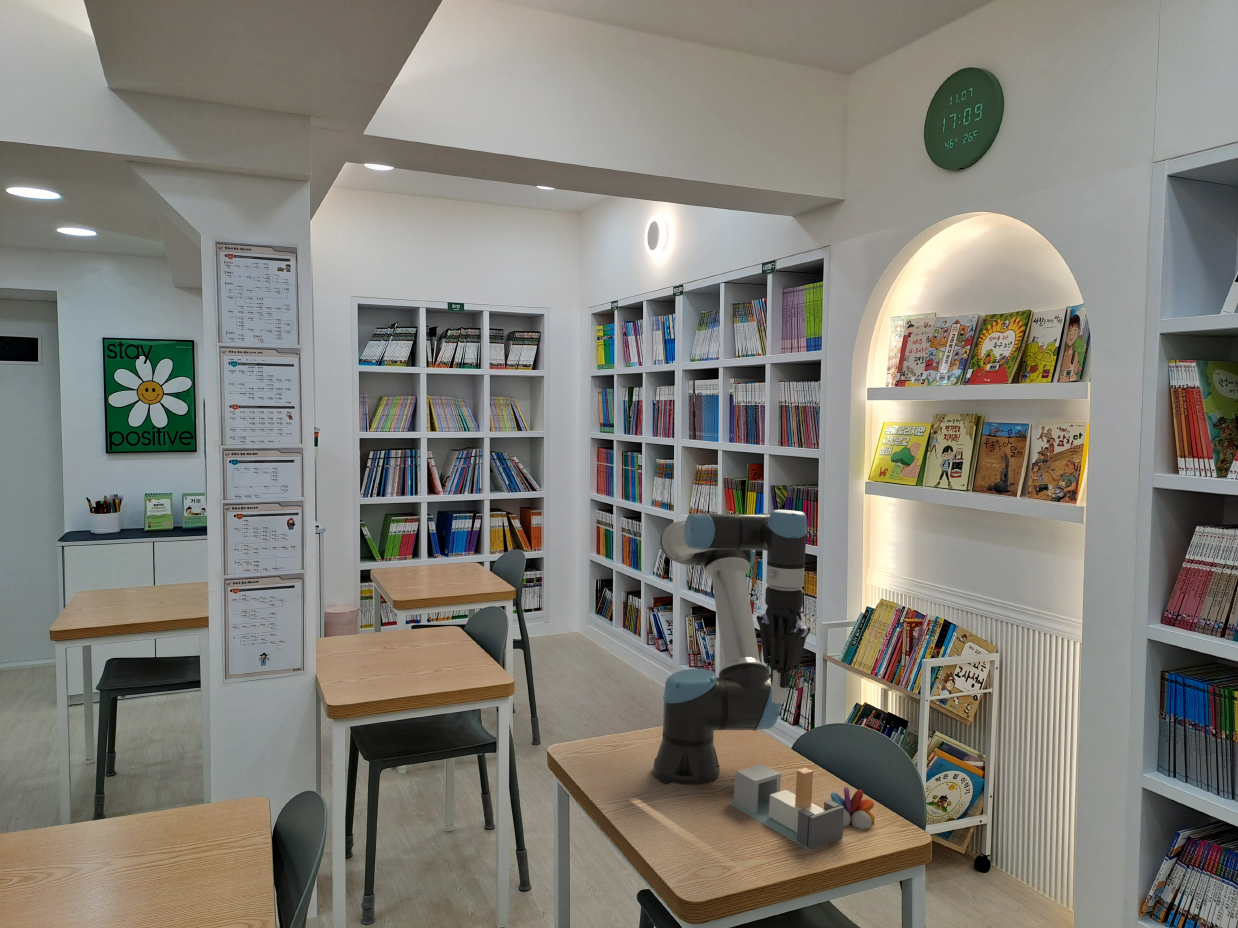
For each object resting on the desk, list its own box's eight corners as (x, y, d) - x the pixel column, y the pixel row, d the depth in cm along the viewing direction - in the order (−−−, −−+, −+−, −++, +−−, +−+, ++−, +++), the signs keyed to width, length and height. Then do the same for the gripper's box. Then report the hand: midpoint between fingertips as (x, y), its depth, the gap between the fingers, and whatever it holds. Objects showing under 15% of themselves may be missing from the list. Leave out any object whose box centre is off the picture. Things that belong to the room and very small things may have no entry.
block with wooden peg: (768, 816, 167) (771, 760, 167) (784, 811, 170) (787, 755, 170) (814, 842, 158) (817, 782, 157) (830, 836, 160) (833, 777, 160)
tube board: (728, 808, 173) (730, 771, 173) (763, 797, 179) (764, 761, 179) (808, 854, 155) (810, 814, 155) (843, 841, 161) (846, 801, 161)
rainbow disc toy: (876, 836, 164) (878, 800, 163) (825, 829, 166) (827, 794, 165) (872, 816, 172) (873, 782, 172) (824, 810, 174) (825, 776, 174)
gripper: (748, 582, 171) (743, 695, 172) (795, 594, 160) (789, 714, 161) (774, 579, 175) (769, 689, 176) (822, 591, 164) (816, 708, 165)
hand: (778, 701), depth 169 cm, fingers closed
